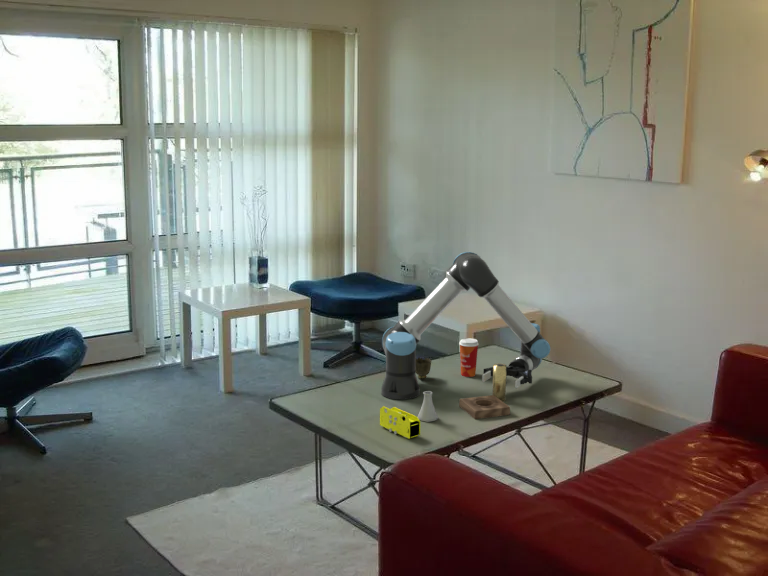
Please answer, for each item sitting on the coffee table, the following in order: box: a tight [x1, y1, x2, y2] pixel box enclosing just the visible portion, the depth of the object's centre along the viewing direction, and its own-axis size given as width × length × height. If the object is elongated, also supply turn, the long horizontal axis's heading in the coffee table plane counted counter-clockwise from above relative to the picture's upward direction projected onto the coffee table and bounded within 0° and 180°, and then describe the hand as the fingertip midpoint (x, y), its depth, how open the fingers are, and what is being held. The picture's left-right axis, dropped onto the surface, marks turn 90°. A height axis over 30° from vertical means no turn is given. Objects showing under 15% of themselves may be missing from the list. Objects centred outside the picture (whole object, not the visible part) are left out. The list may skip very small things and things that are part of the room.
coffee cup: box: [458, 337, 480, 378], centre depth 355 cm, size 8×8×15 cm
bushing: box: [491, 362, 507, 403], centre depth 324 cm, size 5×5×14 cm
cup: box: [415, 357, 432, 380], centre depth 351 cm, size 8×7×8 cm
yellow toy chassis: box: [379, 405, 422, 439], centre depth 293 cm, size 16×6×8 cm, turn 39°
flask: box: [417, 390, 439, 423], centre depth 305 cm, size 7×7×10 cm
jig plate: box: [458, 394, 511, 420], centre depth 314 cm, size 14×14×3 cm
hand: (499, 381), depth 323 cm, fingers open, 13 cm apart
